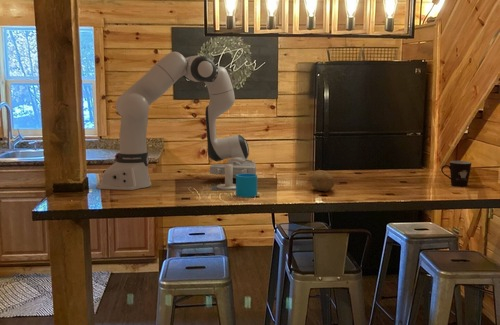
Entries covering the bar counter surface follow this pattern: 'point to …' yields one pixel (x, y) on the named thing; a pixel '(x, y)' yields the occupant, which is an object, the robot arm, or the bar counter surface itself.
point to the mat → (214, 188)
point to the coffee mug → (459, 173)
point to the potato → (322, 180)
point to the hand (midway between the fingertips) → (230, 172)
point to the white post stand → (228, 179)
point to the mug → (246, 185)
